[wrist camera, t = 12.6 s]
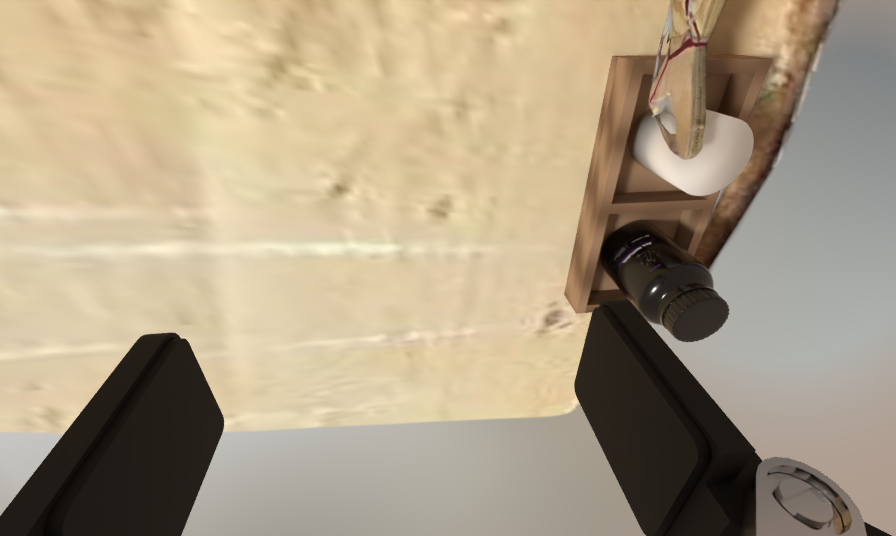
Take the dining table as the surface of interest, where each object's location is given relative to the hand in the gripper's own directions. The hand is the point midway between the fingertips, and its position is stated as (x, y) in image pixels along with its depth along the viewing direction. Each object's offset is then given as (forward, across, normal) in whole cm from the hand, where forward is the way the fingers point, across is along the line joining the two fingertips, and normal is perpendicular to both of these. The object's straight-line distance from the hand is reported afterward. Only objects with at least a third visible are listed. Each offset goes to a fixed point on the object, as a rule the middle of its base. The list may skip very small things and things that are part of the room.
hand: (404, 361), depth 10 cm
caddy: (+28, -24, +8) cm, 38 cm away
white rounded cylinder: (+27, -24, +2) cm, 36 cm away
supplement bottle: (+28, -24, +14) cm, 39 cm away
